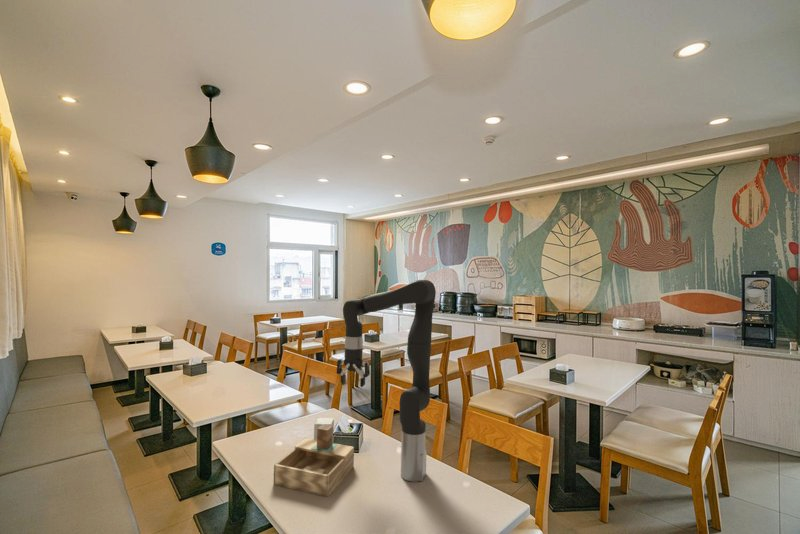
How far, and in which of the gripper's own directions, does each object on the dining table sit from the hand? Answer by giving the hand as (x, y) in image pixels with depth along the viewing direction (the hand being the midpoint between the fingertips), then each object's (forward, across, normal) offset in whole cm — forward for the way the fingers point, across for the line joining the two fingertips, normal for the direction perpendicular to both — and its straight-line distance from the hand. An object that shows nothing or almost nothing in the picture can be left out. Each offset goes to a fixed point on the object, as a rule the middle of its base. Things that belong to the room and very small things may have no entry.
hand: (352, 385), depth 151 cm
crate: (+30, +7, +16) cm, 35 cm away
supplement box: (+30, +14, -2) cm, 33 cm away
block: (+22, +7, +10) cm, 25 cm away
